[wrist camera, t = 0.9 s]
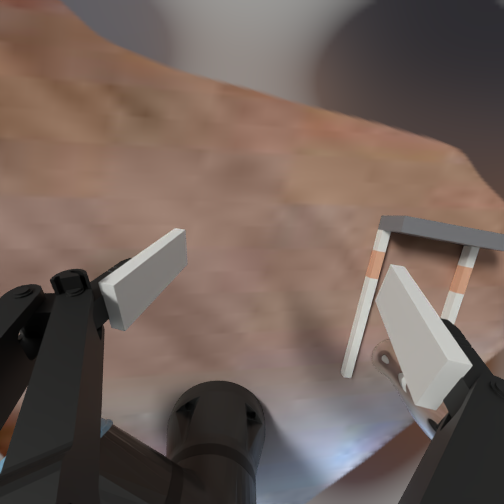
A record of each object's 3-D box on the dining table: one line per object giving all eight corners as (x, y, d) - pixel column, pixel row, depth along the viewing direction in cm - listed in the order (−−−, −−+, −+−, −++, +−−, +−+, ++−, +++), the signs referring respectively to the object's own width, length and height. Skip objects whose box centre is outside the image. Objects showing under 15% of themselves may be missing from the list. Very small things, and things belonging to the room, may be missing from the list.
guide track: (426, 384, 38) (453, 410, 33) (340, 371, 37) (354, 396, 32) (475, 233, 34) (515, 236, 29) (381, 215, 33) (405, 215, 28)
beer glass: (379, 330, 36) (472, 410, 21) (419, 342, 36) (537, 430, 22) (361, 368, 37) (438, 471, 22) (400, 380, 37) (501, 489, 23)
